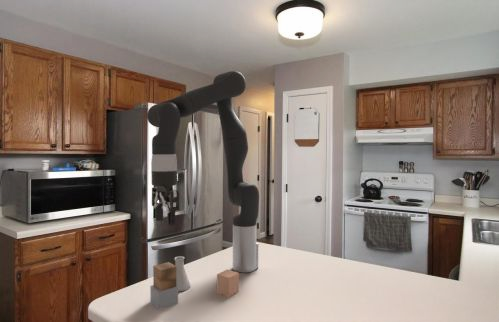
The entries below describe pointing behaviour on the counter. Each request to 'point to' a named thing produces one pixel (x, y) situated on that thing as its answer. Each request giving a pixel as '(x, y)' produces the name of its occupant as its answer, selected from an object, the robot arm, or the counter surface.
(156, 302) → the grey base block
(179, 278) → the flask
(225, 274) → the terracotta cube
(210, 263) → the counter surface
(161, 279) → the walnut cube
